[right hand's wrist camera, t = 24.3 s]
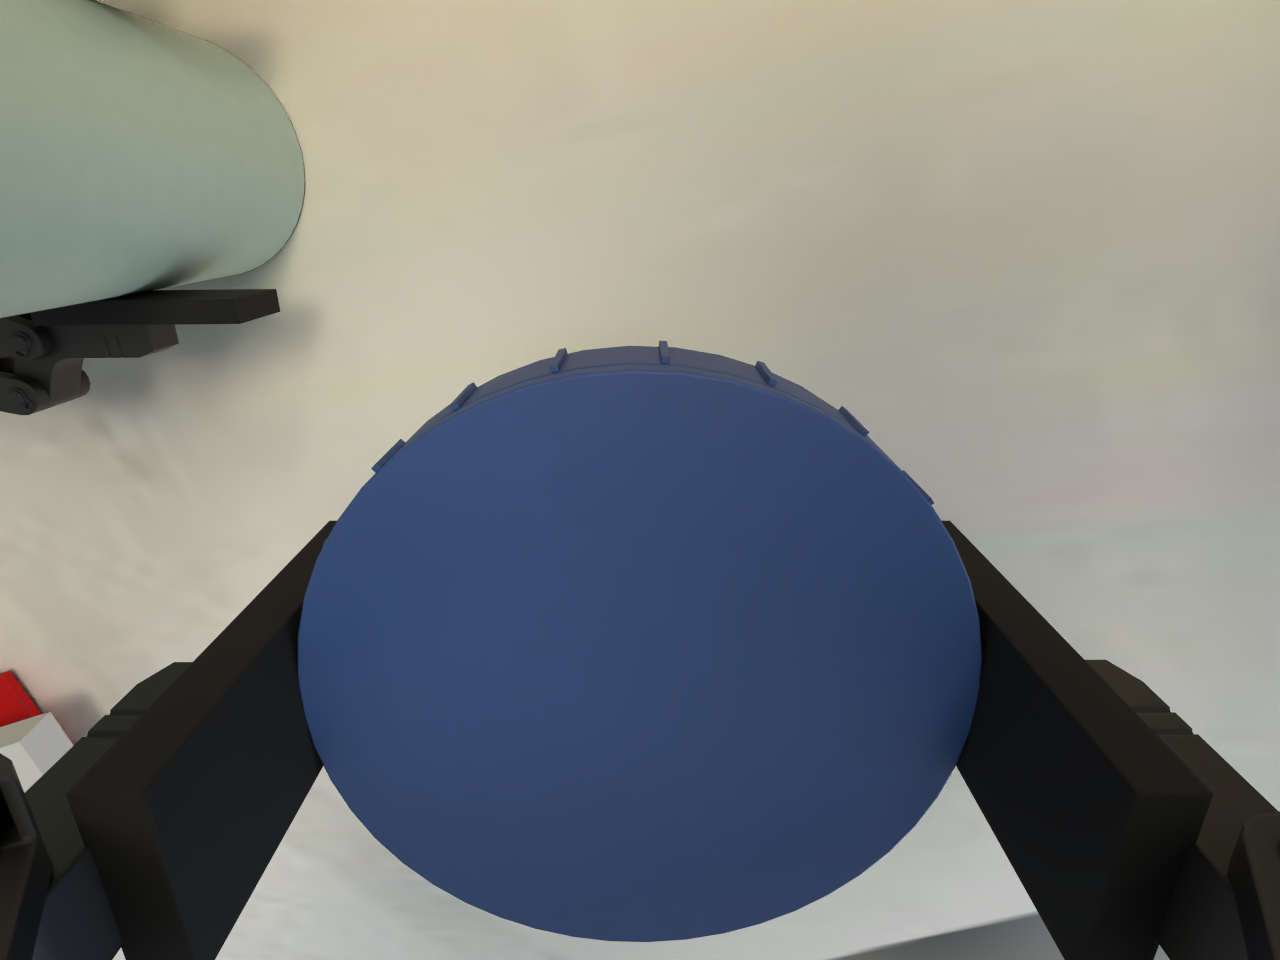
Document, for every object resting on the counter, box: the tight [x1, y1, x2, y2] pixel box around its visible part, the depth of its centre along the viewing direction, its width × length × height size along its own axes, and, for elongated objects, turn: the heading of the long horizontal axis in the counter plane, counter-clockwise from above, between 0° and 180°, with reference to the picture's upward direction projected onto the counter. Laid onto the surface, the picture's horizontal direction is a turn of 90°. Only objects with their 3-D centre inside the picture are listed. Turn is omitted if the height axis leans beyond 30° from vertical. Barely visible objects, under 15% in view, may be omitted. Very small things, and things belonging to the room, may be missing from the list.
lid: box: [298, 341, 982, 942], centre depth 11 cm, size 10×10×2 cm
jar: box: [0, 0, 305, 318], centre depth 20 cm, size 9×9×17 cm
